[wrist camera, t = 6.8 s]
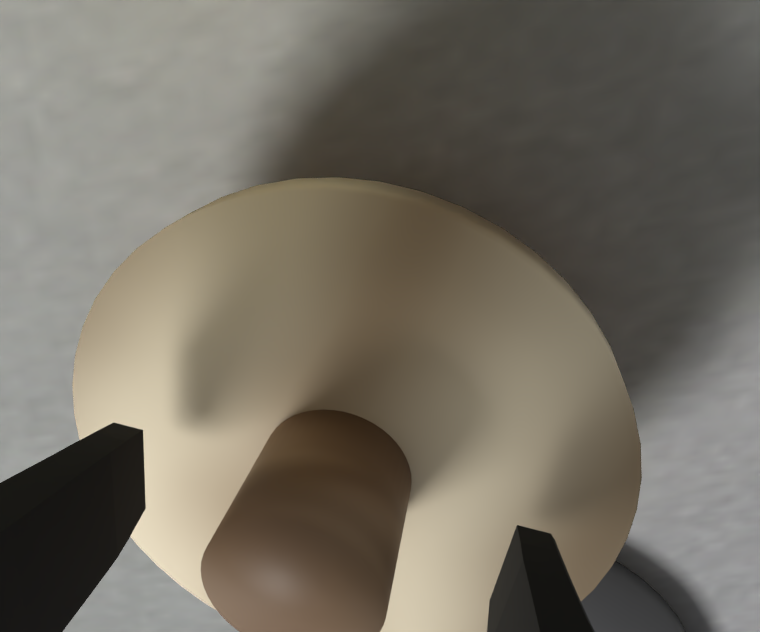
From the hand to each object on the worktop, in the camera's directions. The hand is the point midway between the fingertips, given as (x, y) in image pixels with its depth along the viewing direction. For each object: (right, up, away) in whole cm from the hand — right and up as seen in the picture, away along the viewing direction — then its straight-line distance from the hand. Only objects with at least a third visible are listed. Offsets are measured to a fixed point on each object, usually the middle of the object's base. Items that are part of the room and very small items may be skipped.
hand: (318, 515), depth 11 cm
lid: (0, +1, +2) cm, 2 cm away
